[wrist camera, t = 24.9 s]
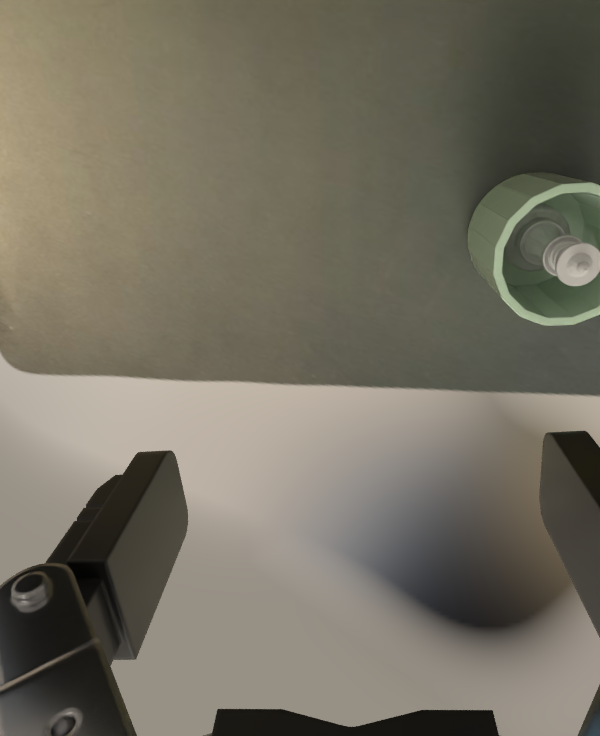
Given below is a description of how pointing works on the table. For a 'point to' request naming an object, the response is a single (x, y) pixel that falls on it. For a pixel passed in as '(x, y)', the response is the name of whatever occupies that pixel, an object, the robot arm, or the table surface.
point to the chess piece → (551, 247)
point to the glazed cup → (540, 288)
